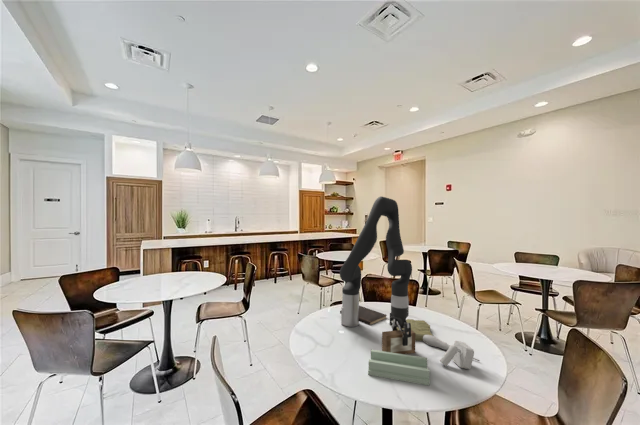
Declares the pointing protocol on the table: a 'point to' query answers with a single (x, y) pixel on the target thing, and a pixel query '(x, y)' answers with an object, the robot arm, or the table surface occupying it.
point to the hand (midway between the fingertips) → (399, 340)
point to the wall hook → (459, 355)
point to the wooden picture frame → (397, 342)
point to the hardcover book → (369, 315)
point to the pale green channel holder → (399, 367)
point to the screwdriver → (437, 343)
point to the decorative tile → (419, 328)
